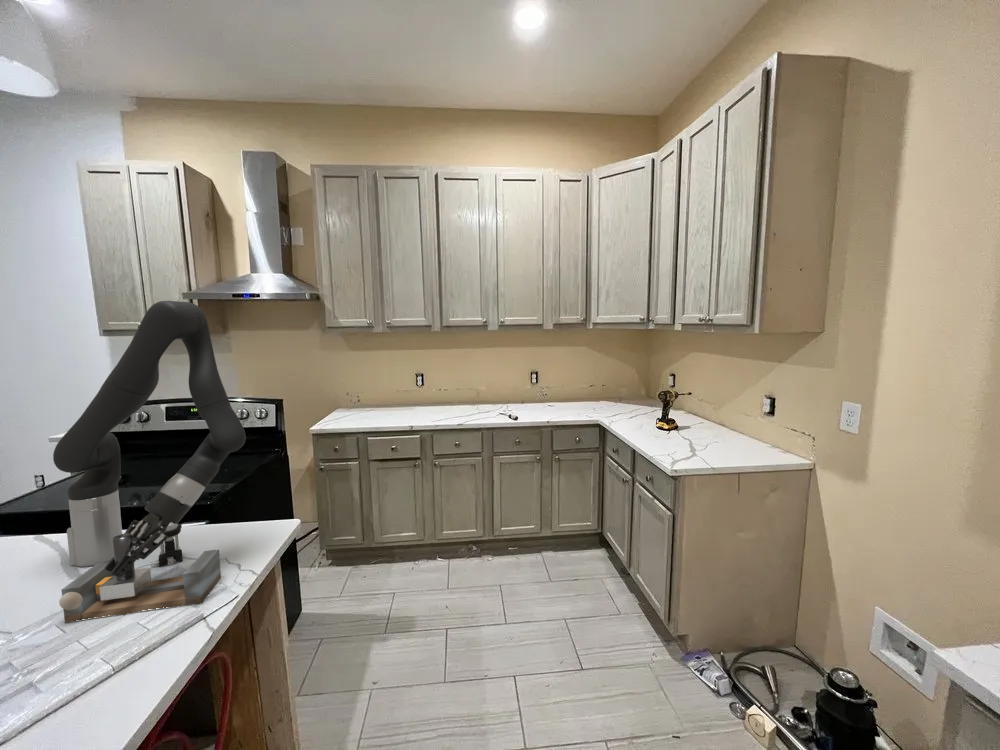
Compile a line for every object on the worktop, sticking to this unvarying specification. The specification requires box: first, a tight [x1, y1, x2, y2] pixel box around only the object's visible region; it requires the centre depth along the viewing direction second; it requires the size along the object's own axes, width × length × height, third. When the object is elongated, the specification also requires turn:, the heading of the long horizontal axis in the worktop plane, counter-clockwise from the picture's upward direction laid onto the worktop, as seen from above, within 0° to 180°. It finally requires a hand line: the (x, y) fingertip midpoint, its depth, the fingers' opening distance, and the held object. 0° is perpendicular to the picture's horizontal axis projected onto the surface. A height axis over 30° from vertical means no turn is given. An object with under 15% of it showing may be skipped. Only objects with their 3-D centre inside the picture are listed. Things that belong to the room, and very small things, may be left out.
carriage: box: [99, 533, 152, 601], centre depth 89 cm, size 6×6×12 cm
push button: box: [149, 522, 184, 568], centre depth 105 cm, size 7×5×10 cm
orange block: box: [95, 577, 111, 594], centre depth 88 cm, size 2×3×2 cm, turn 14°
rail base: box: [58, 548, 222, 623], centre depth 90 cm, size 24×10×7 cm, turn 104°
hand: (112, 572), depth 87 cm, fingers closed on carriage, 3 cm apart
